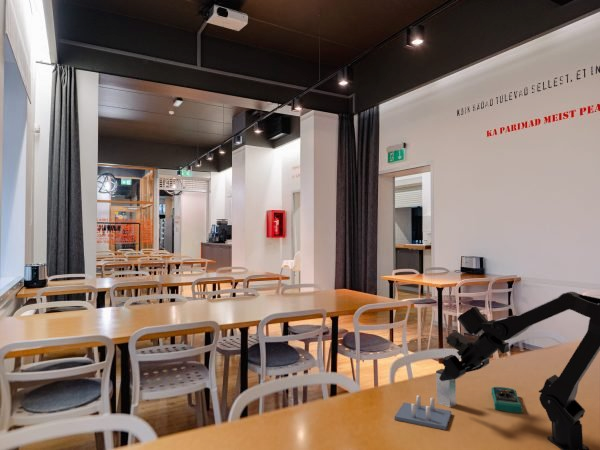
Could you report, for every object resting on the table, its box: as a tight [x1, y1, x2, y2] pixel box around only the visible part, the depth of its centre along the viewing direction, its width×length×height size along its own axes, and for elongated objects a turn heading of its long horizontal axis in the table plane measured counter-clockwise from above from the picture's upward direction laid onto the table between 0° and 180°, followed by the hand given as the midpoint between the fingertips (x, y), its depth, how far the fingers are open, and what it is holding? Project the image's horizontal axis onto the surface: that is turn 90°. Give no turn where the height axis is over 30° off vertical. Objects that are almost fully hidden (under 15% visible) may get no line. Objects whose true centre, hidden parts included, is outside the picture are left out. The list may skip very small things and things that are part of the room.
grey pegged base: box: [394, 394, 452, 431], centre depth 115 cm, size 14×11×4 cm
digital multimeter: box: [490, 386, 523, 414], centre depth 125 cm, size 7×15×3 cm, turn 158°
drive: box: [435, 368, 457, 408], centre depth 124 cm, size 4×4×10 cm
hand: (448, 376), depth 124 cm, fingers open, 9 cm apart
